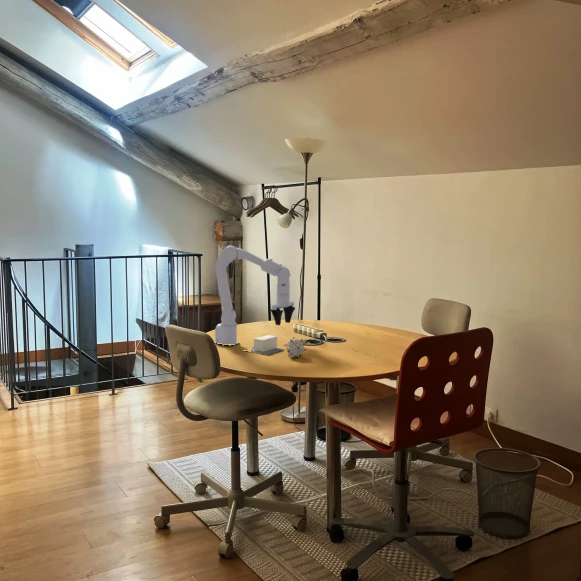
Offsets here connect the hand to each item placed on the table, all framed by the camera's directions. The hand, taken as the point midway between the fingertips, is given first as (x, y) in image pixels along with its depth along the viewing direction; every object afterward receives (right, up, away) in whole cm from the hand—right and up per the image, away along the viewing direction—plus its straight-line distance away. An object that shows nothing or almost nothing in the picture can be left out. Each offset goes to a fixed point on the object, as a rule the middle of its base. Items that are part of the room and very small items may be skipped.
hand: (282, 323), depth 276 cm
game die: (+5, -13, -24) cm, 27 cm away
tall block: (-4, -7, -7) cm, 11 cm away
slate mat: (-8, -11, -12) cm, 18 cm away
